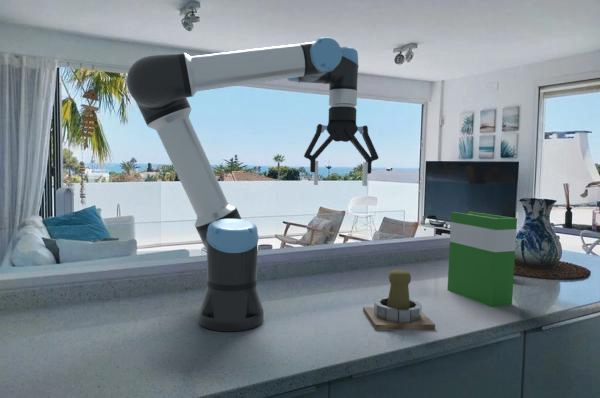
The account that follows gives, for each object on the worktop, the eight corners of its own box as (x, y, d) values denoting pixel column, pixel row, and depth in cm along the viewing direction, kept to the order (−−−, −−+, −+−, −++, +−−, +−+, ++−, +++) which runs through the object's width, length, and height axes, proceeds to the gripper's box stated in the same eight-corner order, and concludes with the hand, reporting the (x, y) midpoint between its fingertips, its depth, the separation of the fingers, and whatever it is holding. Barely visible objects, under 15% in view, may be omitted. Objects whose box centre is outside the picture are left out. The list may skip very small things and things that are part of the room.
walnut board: (375, 329, 105) (375, 324, 105) (363, 311, 118) (363, 306, 118) (435, 329, 106) (435, 324, 106) (416, 311, 119) (416, 306, 119)
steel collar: (381, 323, 106) (381, 310, 106) (370, 308, 117) (370, 296, 117) (427, 322, 107) (427, 310, 107) (412, 308, 118) (412, 296, 118)
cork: (411, 320, 109) (413, 274, 108) (385, 318, 110) (387, 272, 109) (410, 312, 115) (412, 268, 114) (385, 310, 116) (387, 267, 115)
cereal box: (447, 290, 141) (451, 212, 139) (466, 288, 144) (470, 211, 142) (491, 306, 125) (496, 218, 123) (511, 304, 128) (517, 218, 126)
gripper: (384, 110, 130) (381, 185, 132) (295, 107, 128) (294, 183, 130) (391, 107, 123) (388, 186, 124) (297, 103, 120) (295, 184, 122)
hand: (340, 185), depth 127 cm, fingers open, 13 cm apart
